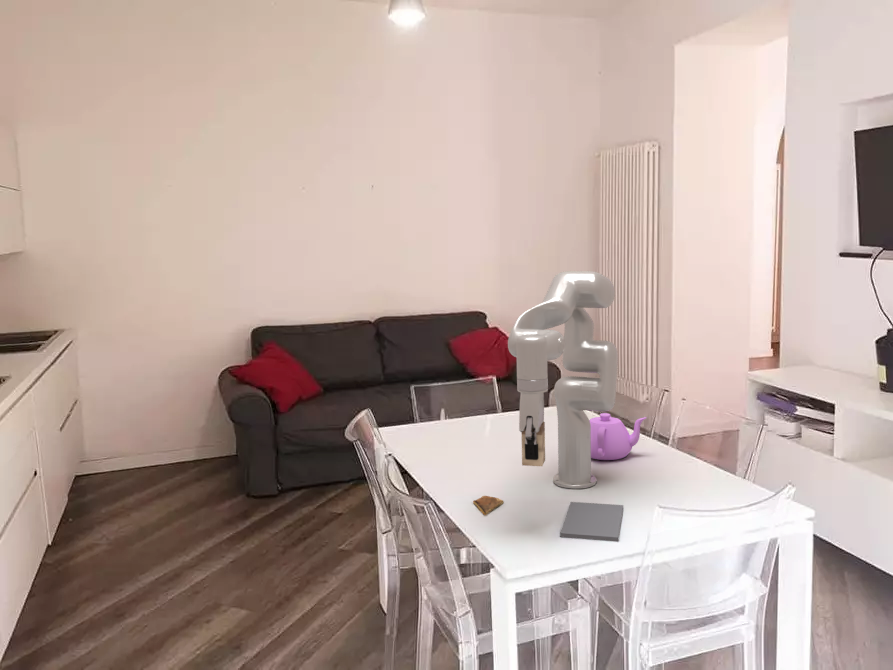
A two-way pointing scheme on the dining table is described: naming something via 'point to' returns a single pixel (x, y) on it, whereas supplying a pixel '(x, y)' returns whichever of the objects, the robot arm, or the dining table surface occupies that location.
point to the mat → (592, 521)
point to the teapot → (612, 437)
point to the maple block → (540, 448)
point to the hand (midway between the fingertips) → (533, 455)
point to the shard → (487, 504)
